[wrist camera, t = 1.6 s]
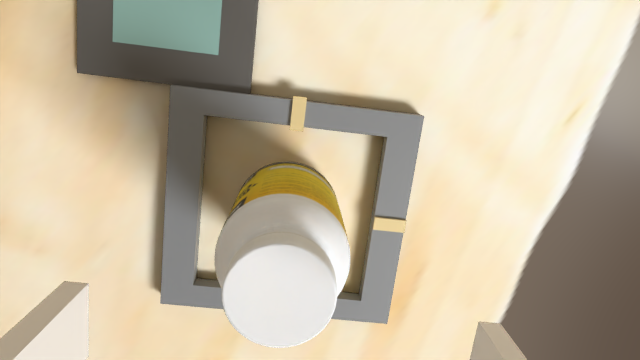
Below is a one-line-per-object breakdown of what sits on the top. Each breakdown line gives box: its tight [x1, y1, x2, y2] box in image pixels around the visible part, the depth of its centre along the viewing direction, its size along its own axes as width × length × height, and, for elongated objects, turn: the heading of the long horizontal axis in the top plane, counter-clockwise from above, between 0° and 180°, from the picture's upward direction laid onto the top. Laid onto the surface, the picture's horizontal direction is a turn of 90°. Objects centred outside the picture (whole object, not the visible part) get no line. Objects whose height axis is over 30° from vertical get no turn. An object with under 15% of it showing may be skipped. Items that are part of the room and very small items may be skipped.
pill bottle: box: [215, 162, 350, 348], centre depth 24 cm, size 6×6×12 cm
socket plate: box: [161, 85, 424, 324], centre depth 29 cm, size 15×14×1 cm
